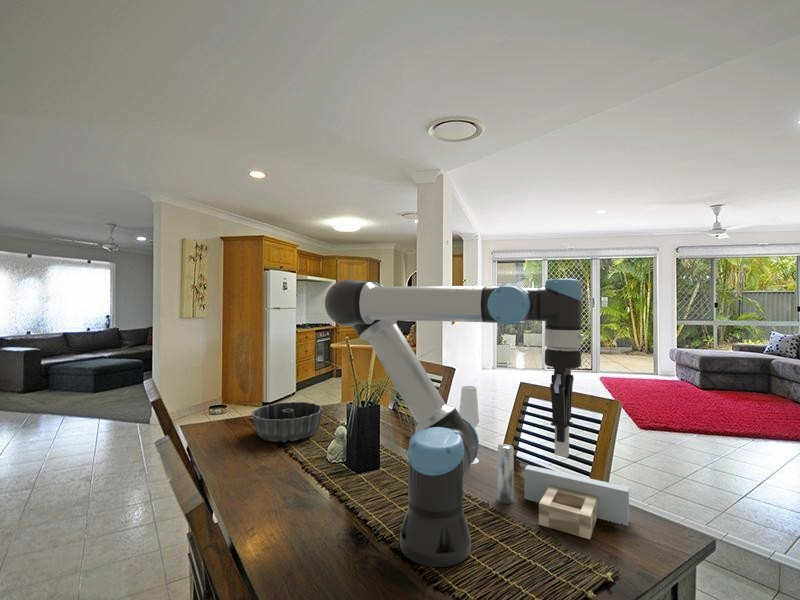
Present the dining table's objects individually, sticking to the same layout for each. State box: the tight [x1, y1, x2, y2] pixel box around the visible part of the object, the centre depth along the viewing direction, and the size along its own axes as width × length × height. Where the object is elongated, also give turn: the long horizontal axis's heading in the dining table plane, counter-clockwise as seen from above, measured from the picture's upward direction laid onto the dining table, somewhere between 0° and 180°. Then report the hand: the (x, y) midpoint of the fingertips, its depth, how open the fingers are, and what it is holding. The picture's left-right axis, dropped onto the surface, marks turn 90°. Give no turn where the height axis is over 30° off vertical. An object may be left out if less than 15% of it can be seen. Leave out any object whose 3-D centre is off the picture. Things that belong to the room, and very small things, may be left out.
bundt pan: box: [251, 401, 324, 444], centre depth 159 cm, size 26×26×10 cm
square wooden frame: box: [538, 486, 598, 540], centre depth 98 cm, size 11×11×5 cm
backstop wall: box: [524, 464, 630, 527], centre depth 104 cm, size 3×24×8 cm, turn 57°
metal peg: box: [497, 443, 515, 505], centre depth 108 cm, size 4×4×14 cm
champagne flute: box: [458, 385, 480, 465], centre depth 135 cm, size 7×7×24 cm
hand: (561, 455), depth 91 cm, fingers closed
